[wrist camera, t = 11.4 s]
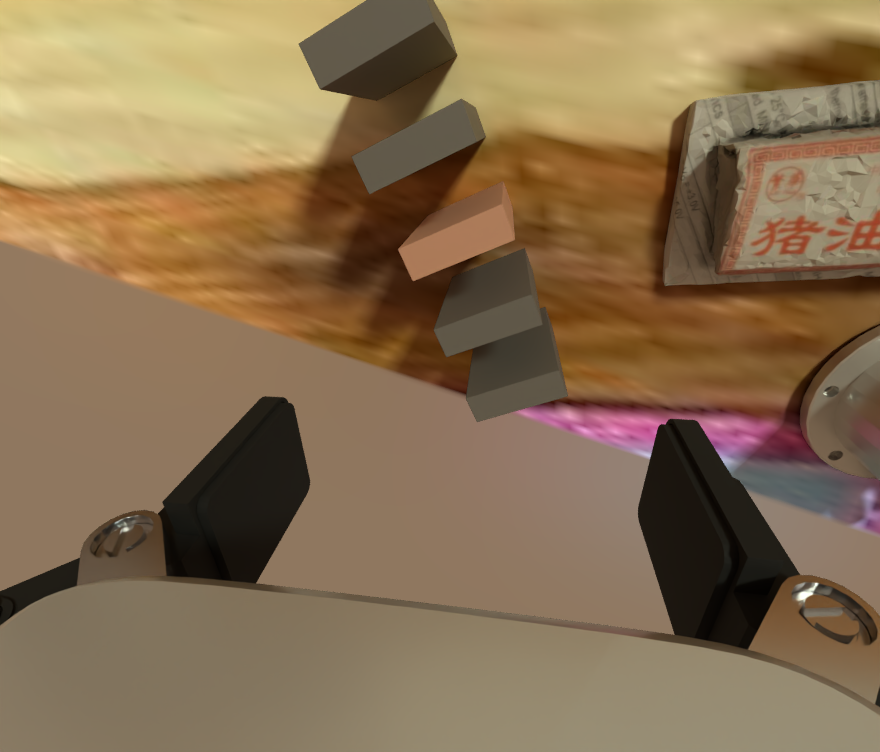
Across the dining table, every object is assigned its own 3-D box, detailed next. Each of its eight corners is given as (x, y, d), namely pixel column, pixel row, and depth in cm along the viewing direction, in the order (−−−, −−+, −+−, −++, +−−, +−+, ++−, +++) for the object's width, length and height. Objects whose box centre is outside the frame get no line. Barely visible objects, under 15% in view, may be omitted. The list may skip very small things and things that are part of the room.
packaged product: (1233, 41, 17) (1078, 293, 22) (1089, 57, 21) (985, 265, 26) (720, 94, 20) (682, 307, 25) (683, 99, 24) (656, 281, 29)
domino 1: (457, 55, 24) (434, 21, 16) (376, 100, 25) (319, 89, 18) (445, 21, 23) (415, -32, 16) (363, 69, 25) (298, 44, 17)
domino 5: (552, 327, 31) (567, 396, 23) (484, 350, 32) (476, 422, 24) (545, 306, 30) (558, 370, 22) (475, 331, 32) (465, 398, 24)
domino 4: (532, 271, 29) (542, 324, 21) (461, 298, 30) (446, 357, 23) (524, 248, 28) (531, 294, 21) (452, 276, 30) (433, 329, 22)
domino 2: (485, 137, 26) (476, 141, 18) (408, 174, 27) (369, 194, 19) (475, 107, 25) (461, 98, 17) (396, 147, 26) (351, 156, 19)
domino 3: (512, 207, 27) (514, 239, 19) (438, 239, 29) (412, 281, 21) (503, 181, 27) (501, 203, 19) (427, 215, 28) (398, 249, 20)
